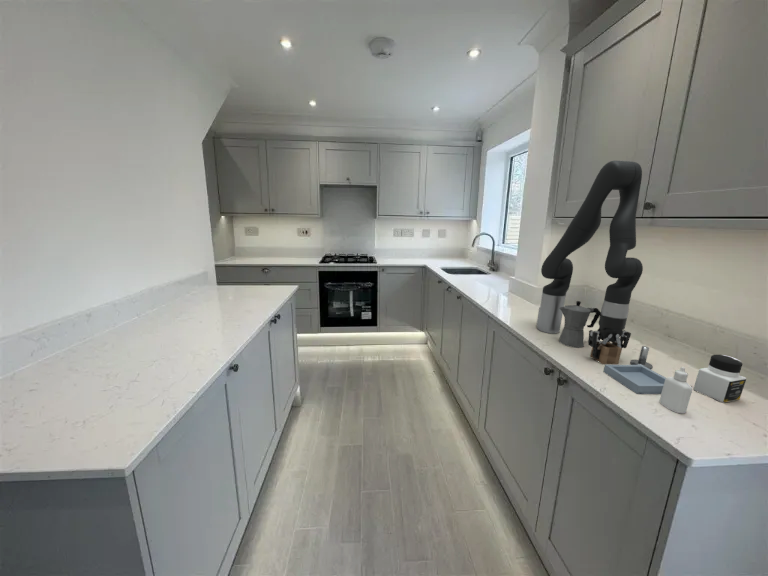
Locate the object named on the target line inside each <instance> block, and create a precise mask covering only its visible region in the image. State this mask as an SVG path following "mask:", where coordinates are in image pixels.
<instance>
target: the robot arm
mask: <svg viewBox="0 0 768 576" xmlns="http://www.w3.org/2000/svg"><path fill="white" fill-rule="evenodd" d="M642 169H643V168H642V166H641V165H640V164H639V163H638V162H635V161H630V160H629V161H628V160H611V161H608V162H607V163H605V164H604V165H603V166H602V167H601V168H600V170H599V171H598V173H597V175H596V177H595V179H594V181H593V183H592V185H591V187H590V188H589V192H588V193H587V196H585V197H586V198H585V199H584V200H583V202H582V204H581V206H580V208H579V209H578V211H577V212H576V214H575V215H574V216H573V219H572V220H571V222H570V223H569V224H568V227H567V228H566V230H565V232H564V234H563V235H562V236H561V238H560V239H559V241H558V243H557V244H556V246H555V247H554V248H553V249H552V251H550V253H549V254H548V256H547V257H546V258H545V259H544V261H543V263H542V265H541V269H540V270H541V271H540V272H541V275H542V277H543V278H545V279H548V280H552V281H551V282H550V283H548V284H546V285H544V286H543V287H542V293H541V299H540V306H539V307H538V312H537V318H536V326H535V327H536V329H537V330H538V331H541V332H542V333H547V334H559V333H560V331H561V324H562V319H563V316H564V315H563V313H562V311H561V310H560V309H559V308H560V307H565V302H566V296H567V292H568V290H569V288H570V285H571V281H572V277H573V272H574V265H573V262H572V260H571V259H570V258H568V256H570V255H571V254H572V253H574V252H575V251H578V249H580V248H581V247H583V246H584V245H585V244H587V243H589V241H590V240H591V239H592V238H593V237H594V235H595V233H597V231H598V229H599V228H600V225H601V223H602V207H603V204H604V202H605V201H606V199H607V197H608V196H609V194H610V193H611V192H612V191H618V192H619V193H618V194H619V203H618V207H617V210H616V212H615V213H614V215H613V217H612V219H611V221H610V223H609V231H608V232H609V233H608V235H609V247H608V250H607V255H606V257H605V262H604V270H605V273H606V275H607V276H609V277H610V278H612V279H617V280H616V281H615V282H614V283H612V284H609V285H608V286H607V287H606V289H605V293H604V299H603V301H602V302H603V303H602V305H601V310H600V312H601V314H600V316H599V318H598V319H599V320H598V326H599V327H598V329H597V330H592V329H590V330H588V342H587V345H588V347H589V346H590V347H591V348H592V347H593V352H592V356H593V357H594V358H595V359H599V356H600V351H601V350H600V349H601V348H602V346H603V345H605V344H606V343H607V342H610V343H612V344H614V345H616V346H618V347H620V348H622V349H626V348H627V346H628V343H629V341H630V338H631V335H632V333H631V332H629V331H627V330H625V328H626V325H627V319H628V315H629V310H630V301H631V299H632V293H633V291H634V290H635V288H636V286H637V284H638V282H639V280H640V279H641V277H642V274H643V270H644V267H643V263H642V262H641V260H640V259H638V258H637V257H627V254H628V251H631V250H633V249H635V248H636V246H637V230H636V228H637V227H636V220H637V209H638V204H639V197H640V192H641V185H642V178H643V170H642ZM598 344H599V345H598ZM595 359H594V360H595Z"/></svg>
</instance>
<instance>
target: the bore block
mask: <svg viewBox="0 0 768 576" xmlns="http://www.w3.org/2000/svg"><path fill="white" fill-rule="evenodd" d="M598 345H599V344H598ZM600 350H601V351H600V356H599V359H595V358H594V357H593V356H592V352H593V347H591V351H590V355H589V357H590V358H592V359H593V358H594V359H593V360H594V361H597V362H598V361H599V362H598V363H600V364H602V365H620V364H619V363H620V359H621V354H622V350H623V348H620V347H618V346H616V345H614V344H612V342H607V343H606V344H605V345H603V346H602V348H601V349H600Z"/></svg>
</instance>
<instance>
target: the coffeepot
mask: <svg viewBox="0 0 768 576" xmlns="http://www.w3.org/2000/svg"><path fill="white" fill-rule="evenodd" d="M581 303H582V302H581V301H579V300H577V301H576V303H575V304H571V305H568V304H567V305H564V307H560V308H559V309H560V310H561V311H562V313H563V315H562V316H563V317H564V326H563V328H562V331H561V333H560V335H559V338H558V342H559V343H560V344H562V345H565V346H567V347H571V348H577V349H579V348H584V345H585V343H584V342H585V340H584V337H585V334H584V333H585V330H584V328H585V327H587V328H593V327H594V326H595V324H596V323H597V322H598V319H600V314H601V310H599V308H597V307H584V306H583V305H581ZM591 313H592V314H593V313H595V314H594V315H593V319H592V320H591V322H590V324H587V321H588V320H589V317H590V315H591Z"/></svg>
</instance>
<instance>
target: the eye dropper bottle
mask: <svg viewBox="0 0 768 576" xmlns="http://www.w3.org/2000/svg"><path fill="white" fill-rule="evenodd" d="M688 376H689V374H688V373H687V371H686V368H685V366H681V367H680V369H677V370H675V372H674V374H673V376H667V377H665V378H666V379H665V382H664V385H663V389H662V393H661V394H660V397H659V403H660V405H662V406H663V407H665V408H666V409H668V410H670V411H672V412H675V413H677V414H685V413H687V410H688V407H689V402H690V400H691V396H692V392H693V387H692V386H691V385H690V384H689V382H687V379H688Z"/></svg>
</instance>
